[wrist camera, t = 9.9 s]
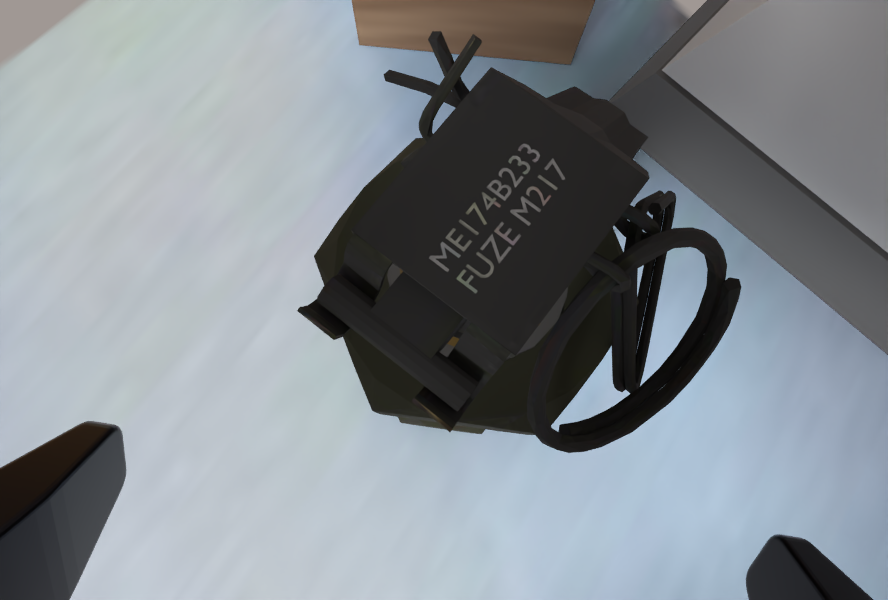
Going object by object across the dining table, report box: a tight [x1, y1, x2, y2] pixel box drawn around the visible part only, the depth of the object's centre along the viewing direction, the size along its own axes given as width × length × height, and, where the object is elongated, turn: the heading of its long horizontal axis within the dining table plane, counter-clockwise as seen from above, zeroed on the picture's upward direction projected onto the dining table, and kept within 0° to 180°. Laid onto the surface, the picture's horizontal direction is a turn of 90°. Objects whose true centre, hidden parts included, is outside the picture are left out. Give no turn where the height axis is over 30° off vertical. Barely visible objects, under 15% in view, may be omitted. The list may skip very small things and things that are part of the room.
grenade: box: [297, 31, 741, 453], centre depth 13 cm, size 6×6×15 cm
